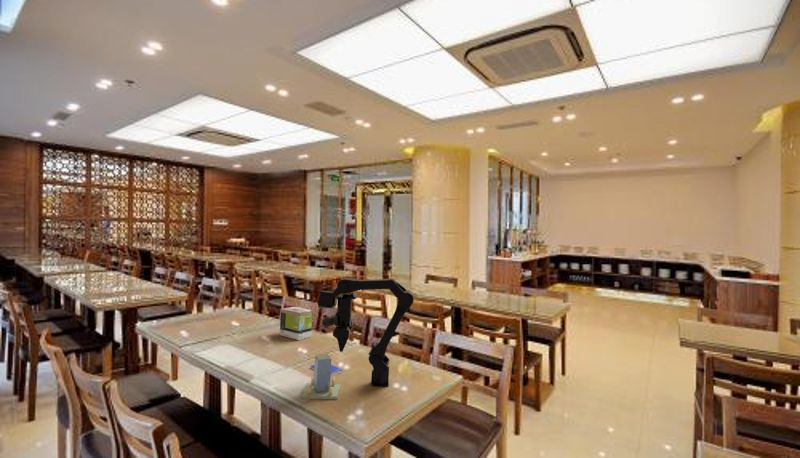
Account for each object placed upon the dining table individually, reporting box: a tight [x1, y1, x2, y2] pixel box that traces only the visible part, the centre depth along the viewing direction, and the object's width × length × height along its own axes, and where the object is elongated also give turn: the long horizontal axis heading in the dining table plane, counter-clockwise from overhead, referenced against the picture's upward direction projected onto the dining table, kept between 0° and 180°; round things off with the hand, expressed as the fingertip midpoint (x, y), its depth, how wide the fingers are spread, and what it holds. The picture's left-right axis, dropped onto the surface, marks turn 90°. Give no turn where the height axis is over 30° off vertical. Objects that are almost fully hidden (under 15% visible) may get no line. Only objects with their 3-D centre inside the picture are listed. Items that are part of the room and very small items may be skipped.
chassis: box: [300, 377, 341, 400], centre depth 145 cm, size 13×11×4 cm
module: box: [313, 353, 332, 393], centre depth 145 cm, size 5×5×13 cm
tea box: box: [279, 306, 313, 341], centre depth 214 cm, size 15×10×15 cm
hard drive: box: [310, 364, 344, 376], centre depth 167 cm, size 2×8×12 cm
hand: (342, 347), depth 157 cm, fingers open, 9 cm apart
